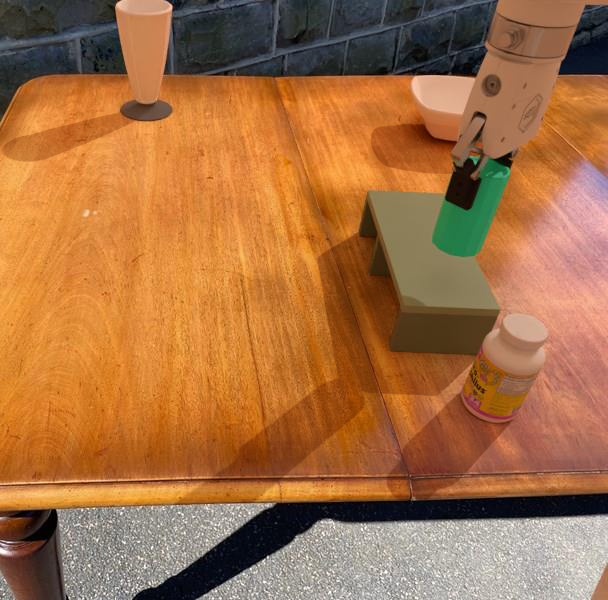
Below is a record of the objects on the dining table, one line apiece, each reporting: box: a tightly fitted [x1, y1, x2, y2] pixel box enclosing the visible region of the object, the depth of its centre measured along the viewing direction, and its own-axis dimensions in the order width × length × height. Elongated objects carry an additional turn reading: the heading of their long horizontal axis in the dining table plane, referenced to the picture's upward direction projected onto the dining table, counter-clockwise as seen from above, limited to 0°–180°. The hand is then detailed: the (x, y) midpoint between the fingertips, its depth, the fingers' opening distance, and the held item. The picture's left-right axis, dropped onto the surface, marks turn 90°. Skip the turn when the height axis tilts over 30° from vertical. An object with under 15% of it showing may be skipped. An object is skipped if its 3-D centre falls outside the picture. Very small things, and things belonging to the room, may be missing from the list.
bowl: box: [409, 74, 476, 142], centre depth 133 cm, size 21×21×9 cm
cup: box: [114, 0, 173, 122], centre depth 132 cm, size 12×12×22 cm
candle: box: [432, 155, 511, 257], centre depth 74 cm, size 6×6×12 cm
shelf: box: [357, 189, 502, 356], centre depth 92 cm, size 28×12×8 cm, turn 178°
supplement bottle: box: [460, 312, 549, 424], centre depth 73 cm, size 7×7×13 cm
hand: (473, 194), depth 74 cm, fingers closed on candle, 5 cm apart
